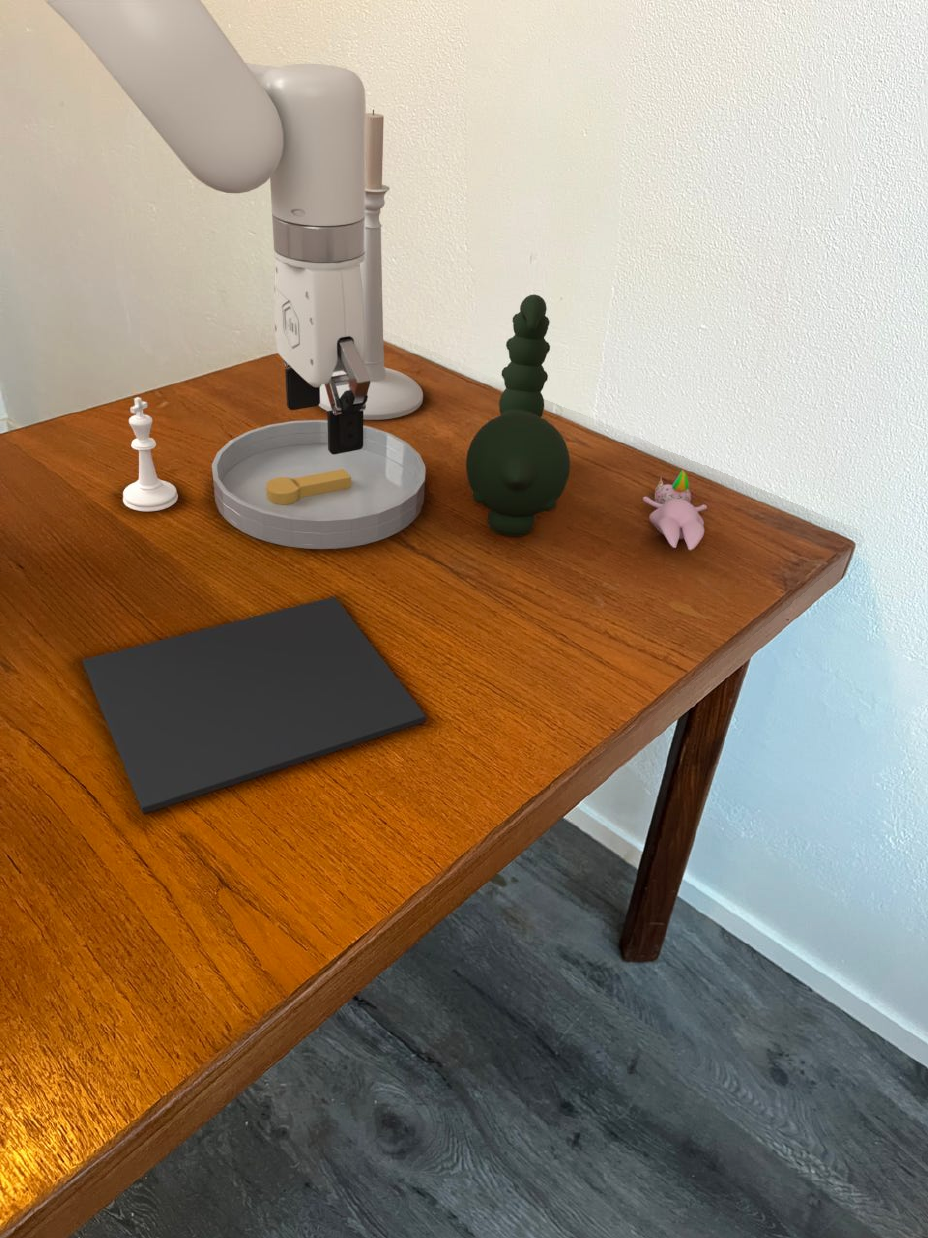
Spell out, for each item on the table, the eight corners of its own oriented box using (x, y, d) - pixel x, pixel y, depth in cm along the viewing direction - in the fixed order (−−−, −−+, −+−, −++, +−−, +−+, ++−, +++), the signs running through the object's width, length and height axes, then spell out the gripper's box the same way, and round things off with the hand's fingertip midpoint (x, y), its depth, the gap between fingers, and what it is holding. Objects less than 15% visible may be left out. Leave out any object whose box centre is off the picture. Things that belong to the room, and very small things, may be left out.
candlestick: (437, 386, 117) (455, 108, 99) (399, 428, 107) (412, 128, 89) (339, 366, 120) (339, 92, 102) (293, 405, 110) (285, 109, 92)
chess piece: (188, 494, 92) (178, 395, 86) (154, 517, 89) (141, 415, 83) (146, 480, 94) (133, 382, 88) (111, 502, 90) (95, 401, 84)
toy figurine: (471, 456, 107) (454, 562, 85) (488, 277, 97) (473, 347, 75) (557, 465, 106) (561, 574, 85) (582, 287, 97) (594, 359, 75)
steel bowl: (258, 569, 83) (256, 539, 81) (187, 465, 97) (184, 438, 95) (461, 522, 92) (463, 494, 90) (369, 433, 106) (370, 408, 104)
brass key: (273, 507, 91) (273, 496, 90) (261, 491, 93) (260, 480, 92) (354, 491, 94) (354, 480, 94) (340, 476, 96) (340, 465, 96)
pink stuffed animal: (636, 504, 100) (643, 560, 87) (647, 448, 98) (656, 498, 84) (697, 512, 100) (713, 570, 87) (709, 456, 97) (728, 507, 84)
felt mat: (143, 814, 61) (141, 808, 60) (83, 665, 71) (82, 659, 71) (426, 722, 69) (426, 715, 69) (334, 602, 80) (334, 596, 80)
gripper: (239, 213, 84) (252, 397, 95) (318, 274, 73) (323, 477, 83) (320, 207, 88) (324, 386, 98) (408, 264, 76) (402, 461, 86)
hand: (324, 428), depth 90 cm, fingers open, 9 cm apart
